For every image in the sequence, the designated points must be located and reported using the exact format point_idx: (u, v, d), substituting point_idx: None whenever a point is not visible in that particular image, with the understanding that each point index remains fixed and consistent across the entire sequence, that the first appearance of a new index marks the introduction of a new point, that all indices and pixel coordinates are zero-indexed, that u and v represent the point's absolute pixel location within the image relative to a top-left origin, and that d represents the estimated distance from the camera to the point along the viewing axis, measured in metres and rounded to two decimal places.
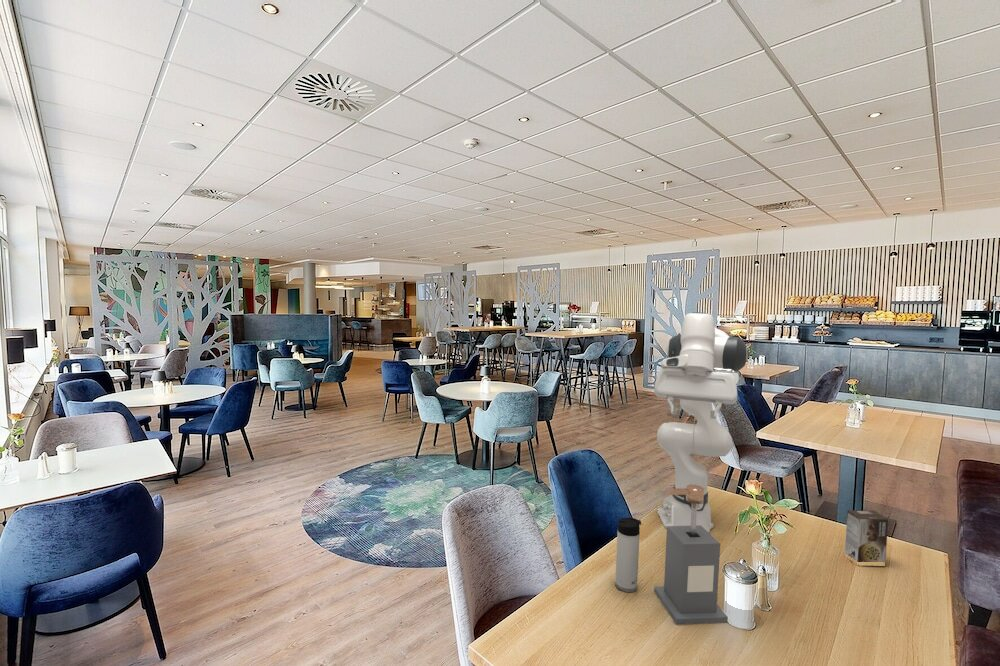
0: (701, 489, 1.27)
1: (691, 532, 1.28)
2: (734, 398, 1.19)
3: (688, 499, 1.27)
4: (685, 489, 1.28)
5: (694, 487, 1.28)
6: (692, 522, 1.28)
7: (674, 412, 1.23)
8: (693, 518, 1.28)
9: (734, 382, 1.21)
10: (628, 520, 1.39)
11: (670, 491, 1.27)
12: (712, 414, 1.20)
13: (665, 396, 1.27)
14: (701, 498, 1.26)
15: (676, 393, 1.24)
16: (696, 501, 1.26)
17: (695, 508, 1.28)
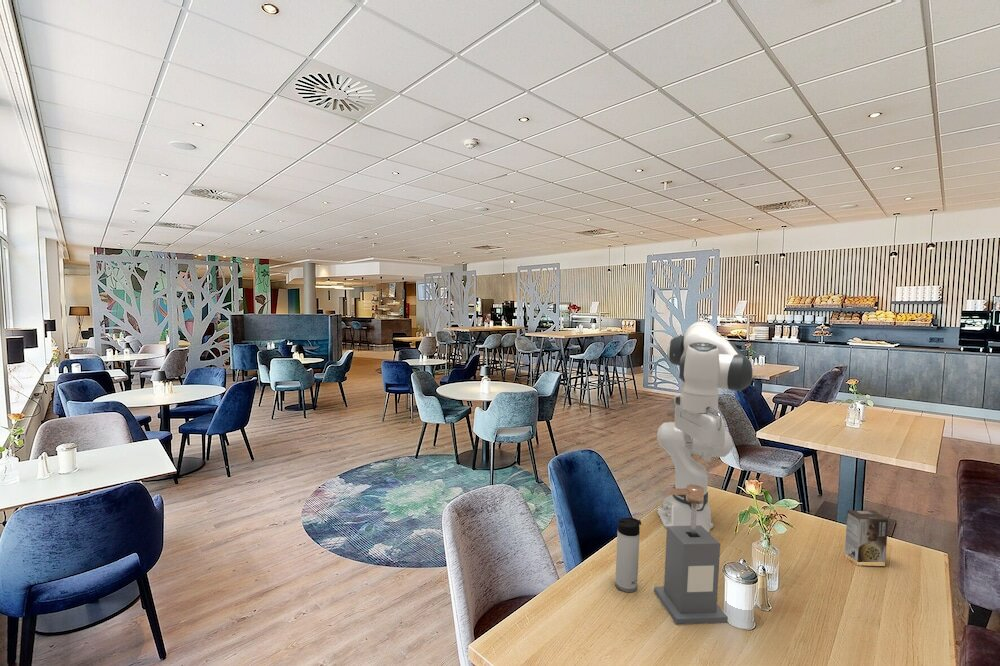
0: (701, 489, 1.27)
1: (691, 532, 1.28)
2: (710, 445, 1.17)
3: (688, 499, 1.27)
4: (685, 489, 1.28)
5: (694, 487, 1.28)
6: (692, 522, 1.28)
7: (686, 448, 1.32)
8: (693, 518, 1.28)
9: (711, 428, 1.17)
10: (628, 520, 1.39)
11: (670, 491, 1.27)
12: (702, 457, 1.23)
13: None
14: (701, 498, 1.26)
15: (683, 431, 1.31)
16: (696, 501, 1.26)
17: (695, 508, 1.28)
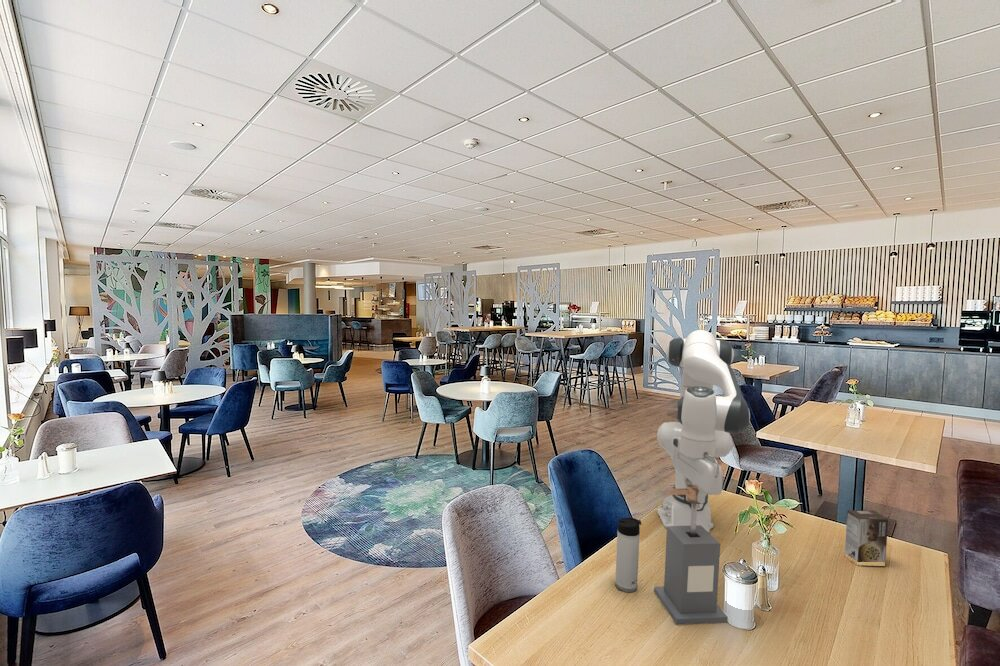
0: None
1: (691, 532, 1.28)
2: (708, 492, 1.18)
3: (688, 499, 1.27)
4: (685, 489, 1.28)
5: (694, 488, 1.28)
6: (692, 522, 1.28)
7: None
8: (693, 518, 1.28)
9: (708, 475, 1.18)
10: (628, 520, 1.39)
11: (670, 491, 1.27)
12: (696, 498, 1.25)
13: None
14: None
15: (681, 473, 1.32)
16: (696, 501, 1.26)
17: (695, 508, 1.28)
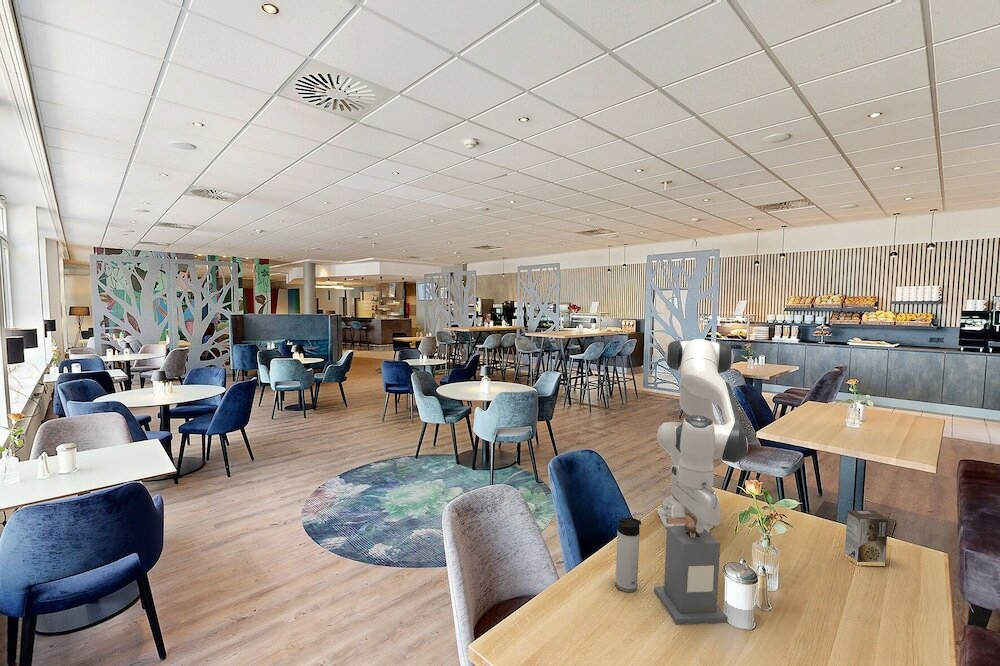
0: None
1: None
2: (706, 523, 1.19)
3: (686, 528, 1.28)
4: (684, 518, 1.28)
5: (692, 516, 1.28)
6: None
7: None
8: None
9: (707, 507, 1.19)
10: (628, 520, 1.39)
11: (669, 520, 1.27)
12: (695, 528, 1.26)
13: None
14: None
15: (680, 501, 1.32)
16: (694, 530, 1.27)
17: None
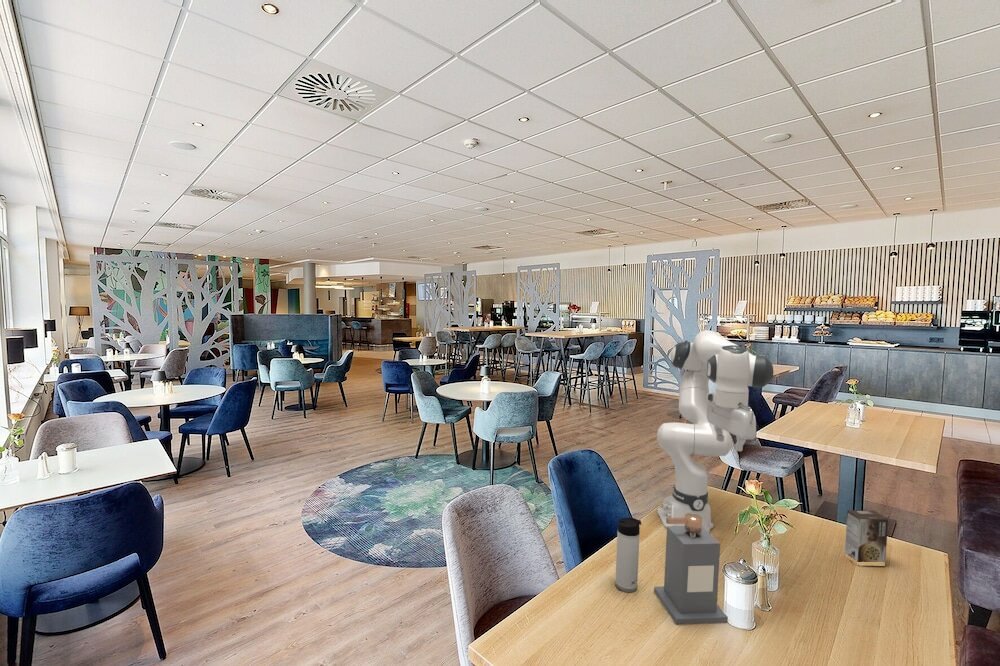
0: (699, 518, 1.27)
1: None
2: (743, 437, 1.32)
3: (686, 528, 1.28)
4: (683, 518, 1.28)
5: (692, 517, 1.28)
6: None
7: (718, 440, 1.46)
8: None
9: (744, 422, 1.32)
10: (628, 520, 1.39)
11: (669, 520, 1.27)
12: (734, 447, 1.37)
13: None
14: (699, 527, 1.27)
15: (716, 425, 1.46)
16: (694, 530, 1.27)
17: None
